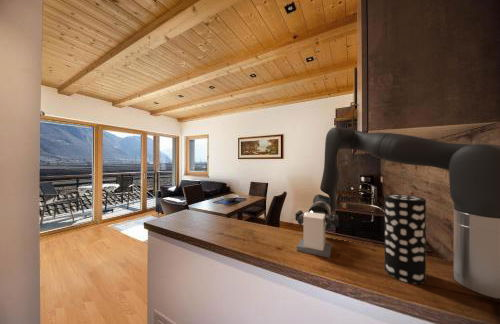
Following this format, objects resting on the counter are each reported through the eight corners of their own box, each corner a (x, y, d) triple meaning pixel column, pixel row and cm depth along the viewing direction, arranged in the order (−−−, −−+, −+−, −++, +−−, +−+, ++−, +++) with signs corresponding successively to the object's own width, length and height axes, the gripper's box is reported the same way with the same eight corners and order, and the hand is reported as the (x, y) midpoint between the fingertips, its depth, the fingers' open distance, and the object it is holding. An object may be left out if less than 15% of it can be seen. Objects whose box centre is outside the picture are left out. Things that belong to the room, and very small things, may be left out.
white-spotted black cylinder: (426, 288, 44) (426, 202, 44) (382, 274, 49) (382, 197, 49) (424, 272, 50) (425, 196, 50) (386, 261, 55) (386, 193, 55)
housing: (325, 243, 64) (325, 214, 64) (323, 250, 59) (322, 218, 59) (307, 240, 67) (306, 211, 67) (303, 247, 62) (303, 216, 62)
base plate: (331, 248, 64) (331, 229, 64) (329, 257, 58) (329, 236, 58) (301, 242, 69) (301, 224, 69) (296, 250, 62) (296, 231, 62)
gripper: (301, 200, 79) (291, 210, 65) (339, 204, 73) (337, 215, 58) (302, 218, 80) (291, 231, 65) (339, 223, 73) (337, 239, 59)
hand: (313, 224), depth 62 cm, fingers open, 8 cm apart
